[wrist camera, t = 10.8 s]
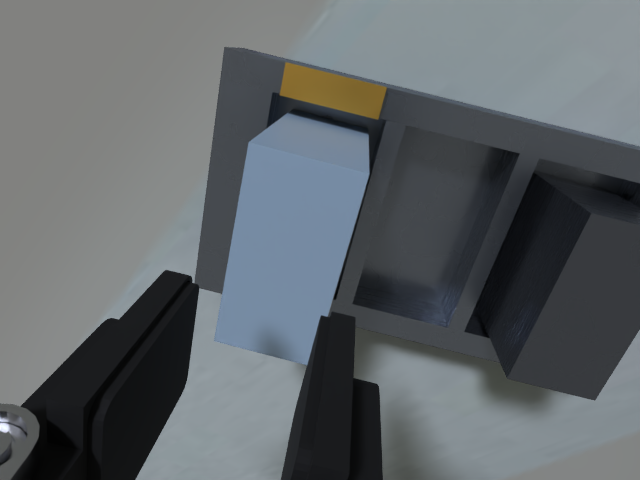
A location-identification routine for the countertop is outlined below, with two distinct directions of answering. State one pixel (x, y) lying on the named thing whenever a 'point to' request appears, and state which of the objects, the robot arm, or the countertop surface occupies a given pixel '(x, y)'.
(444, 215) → the rack
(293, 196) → the light blue block
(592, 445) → the countertop surface
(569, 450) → the countertop surface
